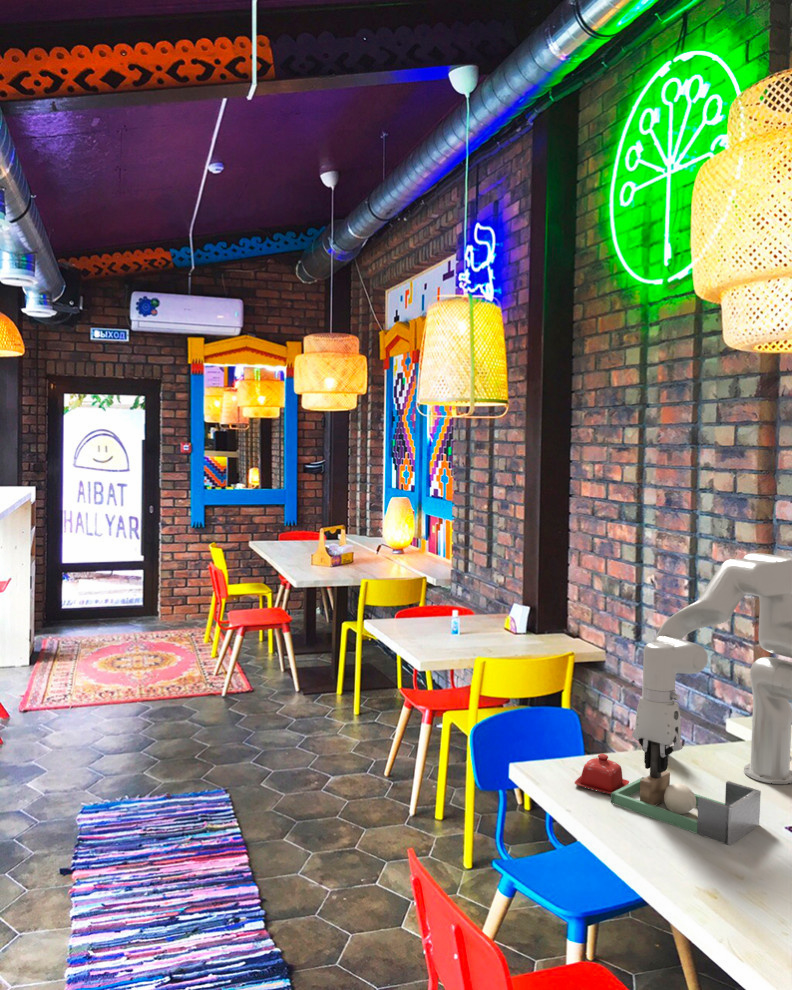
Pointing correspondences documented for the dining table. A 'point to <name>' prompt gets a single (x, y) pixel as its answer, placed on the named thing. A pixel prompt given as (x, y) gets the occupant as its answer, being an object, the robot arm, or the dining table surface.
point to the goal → (729, 814)
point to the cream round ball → (679, 798)
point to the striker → (654, 780)
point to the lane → (653, 807)
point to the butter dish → (602, 775)
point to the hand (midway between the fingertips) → (655, 768)
